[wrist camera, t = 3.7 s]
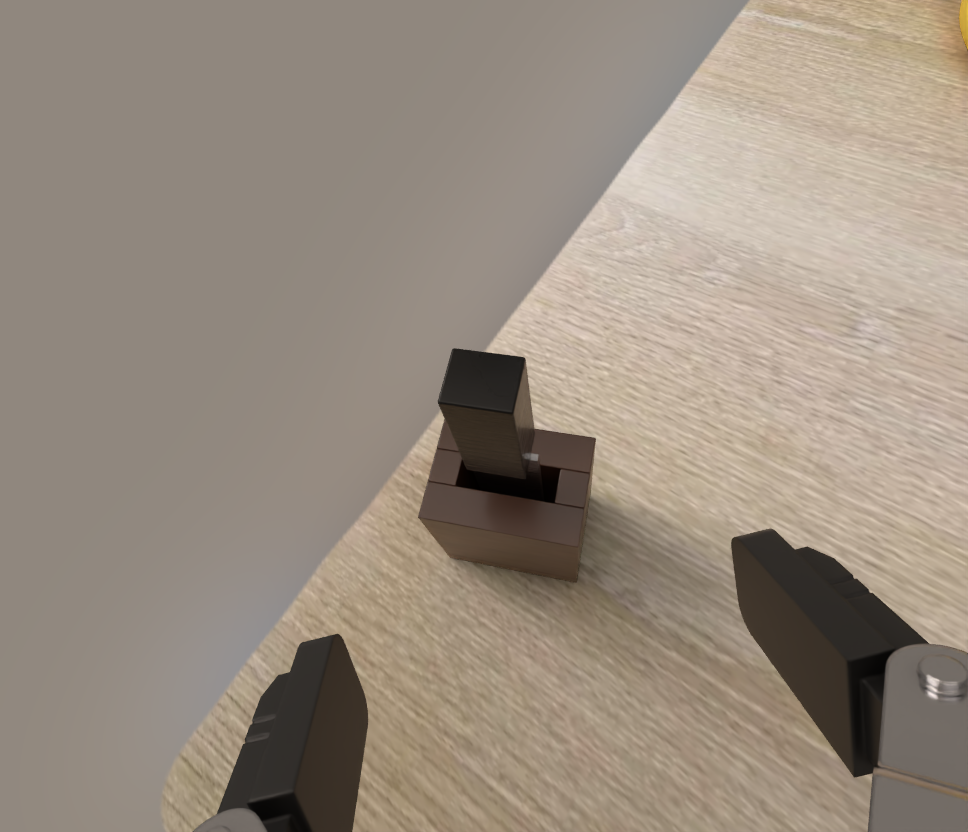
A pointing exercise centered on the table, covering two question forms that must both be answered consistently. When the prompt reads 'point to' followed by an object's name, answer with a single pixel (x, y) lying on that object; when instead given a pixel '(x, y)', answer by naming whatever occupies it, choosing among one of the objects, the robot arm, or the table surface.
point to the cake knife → (492, 421)
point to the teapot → (964, 21)
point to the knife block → (513, 509)
